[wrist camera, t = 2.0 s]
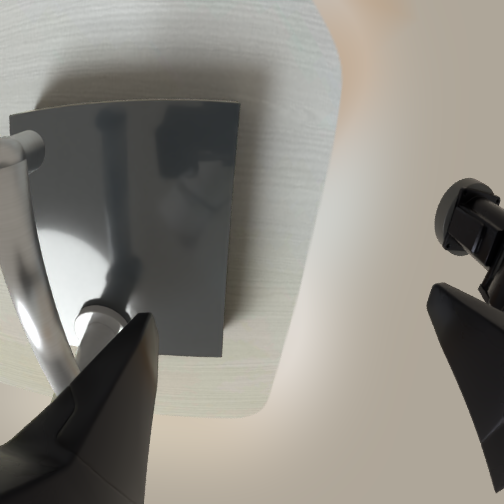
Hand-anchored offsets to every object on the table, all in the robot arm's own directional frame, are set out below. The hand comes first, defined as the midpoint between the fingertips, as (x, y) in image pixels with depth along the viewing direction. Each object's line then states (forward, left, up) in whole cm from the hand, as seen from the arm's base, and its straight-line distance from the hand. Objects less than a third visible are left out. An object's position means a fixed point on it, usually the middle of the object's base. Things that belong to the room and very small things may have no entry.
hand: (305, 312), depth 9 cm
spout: (+11, +4, -5) cm, 12 cm away
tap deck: (+9, +4, -13) cm, 16 cm away
